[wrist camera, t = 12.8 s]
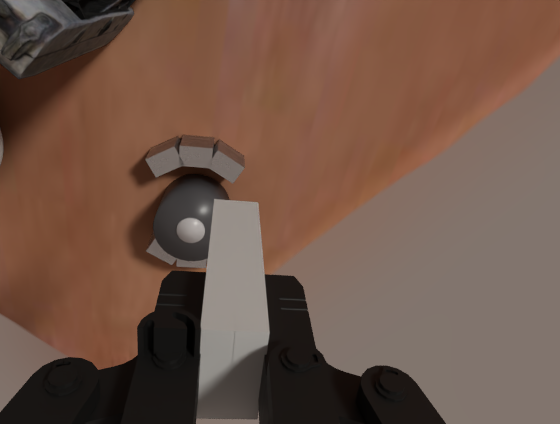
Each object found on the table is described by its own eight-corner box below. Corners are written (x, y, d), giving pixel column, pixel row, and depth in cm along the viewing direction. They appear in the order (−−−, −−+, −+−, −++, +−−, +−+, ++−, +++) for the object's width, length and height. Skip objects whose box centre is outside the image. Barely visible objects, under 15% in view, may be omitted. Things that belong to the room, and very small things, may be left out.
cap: (163, 170, 43) (153, 193, 38) (233, 177, 44) (231, 201, 39) (161, 230, 46) (151, 259, 41) (226, 237, 46) (224, 265, 42)
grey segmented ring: (151, 131, 41) (144, 142, 38) (245, 140, 42) (246, 151, 39) (151, 248, 46) (146, 264, 44) (235, 253, 47) (235, 269, 45)
